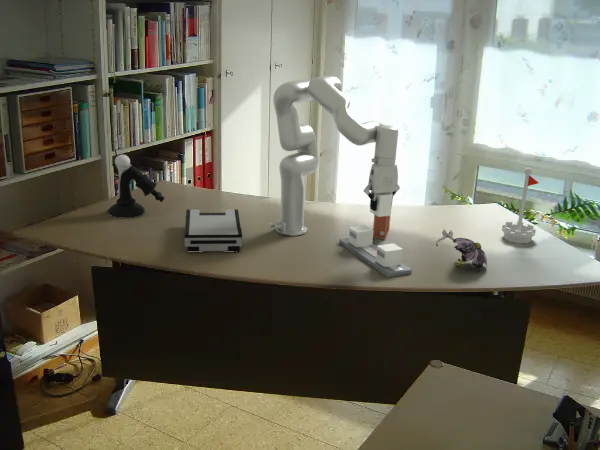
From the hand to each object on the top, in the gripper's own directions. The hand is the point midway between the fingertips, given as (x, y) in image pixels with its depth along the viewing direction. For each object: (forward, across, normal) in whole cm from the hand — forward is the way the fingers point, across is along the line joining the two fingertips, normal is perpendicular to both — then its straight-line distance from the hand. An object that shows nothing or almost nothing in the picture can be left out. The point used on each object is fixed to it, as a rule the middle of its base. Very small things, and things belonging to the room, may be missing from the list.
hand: (380, 208), depth 252 cm
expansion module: (+2, 0, 0) cm, 2 cm away
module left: (+17, -1, +10) cm, 20 cm away
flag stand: (+19, +66, -4) cm, 69 cm away
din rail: (+18, -1, 0) cm, 18 cm away
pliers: (+20, +37, +6) cm, 42 cm away
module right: (+17, -1, -10) cm, 20 cm away
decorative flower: (+19, +27, -21) cm, 39 cm away
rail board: (+19, -1, 0) cm, 19 cm away
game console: (+20, -50, +38) cm, 66 cm away
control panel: (+19, +15, +20) cm, 32 cm away
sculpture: (+20, -70, +79) cm, 107 cm away
